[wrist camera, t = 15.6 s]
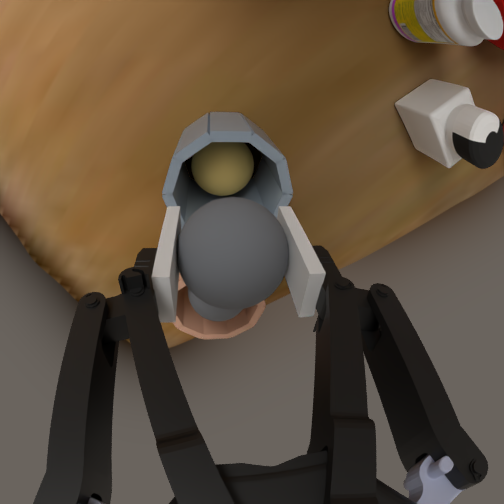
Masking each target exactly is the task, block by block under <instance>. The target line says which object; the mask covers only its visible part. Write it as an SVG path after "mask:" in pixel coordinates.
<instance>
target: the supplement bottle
mask: <svg viewBox="0 0 504 504" xmlns="http://www.w3.org/2000/svg"><path fill="white" fill-rule="evenodd" d="M389 15H390V18H391V21H392V23H393V25H394V27H395V28H396V30H397V31H398V32H399V33H400V34H401V35H402V36H403V37H405V38H406V39H408V40H410V41H413V42H419V43H440V44H453V45H462V46H476V45H478V44H480V43H481V42H482V41H483V40H484V39H489V40H497V39H499V38H500V37H501V36H502V33H503V20H502V17H501V14H500V11H499V9H498V7H497V5H496V4H495V2H494V1H493V0H391V2H390V5H389Z"/></svg>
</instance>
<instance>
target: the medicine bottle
mask: <svg viewBox="0 0 504 504" xmlns="http://www.w3.org/2000/svg"><path fill="white" fill-rule="evenodd" d="M395 107H396V109H397V111H398V113H399V115H400V117H401V119H402V121H403V123H404V125H405V127H406V129H407V131H408V134H409V136H410V138H411V140H412V143H413V145H414V147H415V149H416V150H418V151H420V152H422V153H424V154H425V155H427V156H429V157H431V158H432V159H434V160H436V161H437V162H439V163H441V164H442V165H444V166H446V167H447V168H451V167H452V166H453V165H454V164H456V163H457V162H458V161H459V160H461V159H462V158H463V159H465V160H466V161H468V162H470V163H471V164H473V165H475V166H476V167H478V168H481V169H485V168H488V167H490V166H492V165H493V164H494V163H495V162H496V161H497V160H498V158H499V156H500V154H501V152H502V149H503V144H504V131H503V127H502V124H501V122H500V120H499V118H498V117H497V116H496V115H495V114H494V113H492V112H490V111H487V110H484V109H482V108H479V107H476V106H475V104H474V101H473V98H472V95H471V92H470V90H469V88H467V87H464V86H461V85H457V84H453V83H448V82H444V81H440V80H435V79H429V80H428V81H426V82H425V83H423V84H422V85H420V86H419V87H417V88H416V89H414V90H413V91H411V92H410V93H408V94H407V95H405V96H404V97H402V98H401V99H400V100H398V101H397V102H395Z"/></svg>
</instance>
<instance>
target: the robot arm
mask: <svg viewBox="0 0 504 504" xmlns="http://www.w3.org/2000/svg"><path fill="white" fill-rule="evenodd" d="M277 220H278V221H279V223H280V224H281V226H282V228H283V229H284V232H285V234H286V238H287V242H288V248H289V259H288V265H287V269H286V273H285V278H286V281H287V284H288V287H289V290H290V293H291V295H292V299H293V301H294V304H295V307H296V310H297V313H298V316H299V317H311V316H314V312H315V309H317V312H318V314H319V315H318V318H317V321H316V324H315V327H314V330H313V332H315V331H316V356H315V380H314V398H313V414H312V415H313V416H312V428H311V439H310V445H309V448H308V451H307V454H306V455H301V456H298V457H296V458H294V459H291V460H289V461H286V462H284V463H282V464H279V465H277V466H271V467H270V466H260V465H252V464H245V463H236V464H222V465H221V464H219V465H215V463H214V461H213V459H212V457H211V455H210V452H209V450H208V448H207V446H206V443H205V441H204V439H203V437H202V435H201V433H200V431H199V430H198V428H197V425H196V423H195V420H194V418H193V416H192V413H191V411H190V408H189V405H188V402H187V400H186V397H185V395H184V392H183V389H182V386H181V384H180V381H179V378H178V375H177V373H176V370H175V367H174V364H173V361H172V358H171V355H170V352H169V349H168V346H167V342H166V339H165V336H164V333H163V330H162V326H161V323H160V322H176V308H177V295H178V283H179V269H178V264H177V242H178V238H179V235H180V232H181V213H180V206H168V207H167V211H166V215H165V219H164V223H163V227H162V231H161V235H160V240H159V244H158V248H143V249H142V250H141V251H140V252H139V253H138V255H137V258H136V262H135V265H134V267H131V268H128V269H126V270H124V271H122V272H121V274H120V275H119V278H118V280H119V284H120V288H121V292H122V294H120V295H118V296H115V297H111V298H105V296H104V295H103V294H101V293H99V292H92V293H88V294H86V295H84V296H83V297H82V298H81V299H80V301H79V303H78V306H77V309H76V312H75V316H74V319H73V323H72V326H71V330H70V333H69V337H68V341H67V345H66V349H65V353H64V357H63V361H62V366H61V371H60V375H59V379H58V385H57V390H56V395H55V401H54V407H53V414H52V420H51V428H50V436H49V445H48V456H47V470H46V473H45V476H44V478H43V480H42V483H41V485H40V488H39V490H38V493H37V495H36V498H35V500H34V503H33V504H110V500H111V493H112V492H111V491H112V470H111V469H112V463H111V448H112V447H111V446H112V443H111V442H112V415H113V399H114V386H115V375H116V374H115V373H116V364H117V356H118V347H119V341H120V340H124V339H129V338H130V343H131V348H132V352H133V357H134V361H135V366H136V370H137V374H138V378H139V382H140V386H141V390H142V394H143V398H144V401H145V405H146V408H147V412H148V416H149V419H150V422H151V426H152V429H153V432H154V435H155V438H156V445H157V449H158V452H159V456H160V458H161V461H162V464H163V467H164V469H165V472H166V475H167V477H168V480H169V483H170V485H171V488H172V490H173V492H174V495H175V497H174V498H173V499H172V501H171V502H170V503H169V504H450V503H451V502H452V500H453V499H454V498H455V497H456V496H457V495H458V494H459V493H460V492H461V491H463V490H465V489H467V488H469V487H471V486H473V485H476V484H477V483H479V482H481V481H482V480H483V479H484V478H485V476H486V474H487V471H488V464H487V463H488V462H487V460H486V458H485V456H484V455H483V454H482V452H481V451H480V450H479V449H478V447H477V446H476V445H475V443H474V442H473V441H472V440H471V438H470V437H469V436H468V435H467V433H466V432H465V431H464V430H463V428H462V427H461V426H460V424H459V421H458V419H457V416H456V414H455V412H454V409H453V407H452V405H451V403H450V400H449V398H448V395H447V394H446V392H445V389H444V387H443V384H442V382H441V380H440V378H439V376H438V374H437V372H436V370H435V368H434V366H433V364H432V362H431V360H430V358H429V356H428V354H427V352H426V350H425V348H424V346H423V344H422V342H421V340H420V338H419V336H418V334H417V332H416V331H415V329H414V327H413V326H412V323H411V321H410V320H409V318H408V316H407V314H406V312H405V311H404V309H403V307H402V306H401V304H400V302H399V300H398V298H397V297H396V295H395V293H394V292H393V290H392V289H391V288H389V287H388V286H386V285H384V284H378V283H377V284H373V285H372V286H371V288H370V290H369V291H368V290H364V289H358V288H355V287H354V284H353V283H352V282H351V281H350V280H348V279H346V278H344V277H342V276H341V274H340V272H339V270H338V268H337V267H336V265H335V263H334V261H333V260H332V258H331V256H330V254H329V253H328V251H327V250H326V249H325V248H323V247H322V246H312V245H311V243H310V242H309V240H308V238H307V236H306V234H305V232H304V230H303V228H302V226H301V225H300V223H299V221H298V219H297V217H296V215H295V214H294V212H293V210H292V208H291V206H279V208H278V215H277ZM363 352H364V355H365V357H366V360H367V363H368V365H369V368H370V371H371V374H372V376H373V379H374V382H375V384H376V387H377V390H378V393H379V396H380V399H381V402H382V404H383V408H384V411H385V414H386V417H387V419H388V423H389V426H390V429H391V432H392V435H393V438H394V441H395V444H396V448H397V451H398V454H399V456H400V459H401V461H402V463H403V465H404V467H405V469H406V470H407V472H408V473H407V476H406V479H405V480H404V488H405V489H406V490H409V498H407V497H405V496H403V495H402V494H400V493H398V492H397V491H395V490H394V489H392V488H391V487H389V486H387V485H386V484H384V483H383V482H381V481H380V480H378V479H377V478H376V433H375V431H376V430H375V423H374V421H373V420H371V419H369V417H368V409H367V392H366V379H365V366H364V356H363Z"/></svg>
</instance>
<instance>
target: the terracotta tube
mask: <svg viewBox="0 0 504 504" xmlns="http://www.w3.org/2000/svg"><path fill="white" fill-rule="evenodd" d="M265 307H266V304H265V300H263V301H262V302H260V303H258V304H256V305H254V306H251V307H248V308H245V309H242V311H241V312H240V313H239V314H238V315H236V316H235V317H233V318H231V319H229V320H226V321H211V320H208V319H205V318H203V317H202V316H200V315H199V314H198V313H197V312H196V311H195V310H194V309H193V307H192V305H191V303H190V301H189V297H188V287H187V286H186V284H185V283H184V281H183V279H182V277H181V275H180V272H179V283H178V295H177V308H176V322H173V323H174V325H175V326H176V328H178V329H179V330H181V331H183V332H186V333H188V334H190V335H193V336H195V337H197V338H200V339H201V338H202V337H203V339H223V338H224V339H226V338H229V337H231V338H232V337H234V336H236V335H238V334H240V333H242V332H244V331H246V330H248V329H250V328H252V327H253V326H254V325H255V324H256V323H257V321H258V319H259V318H260V316H261V314H262V313H263V311H264V309H265Z"/></svg>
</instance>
